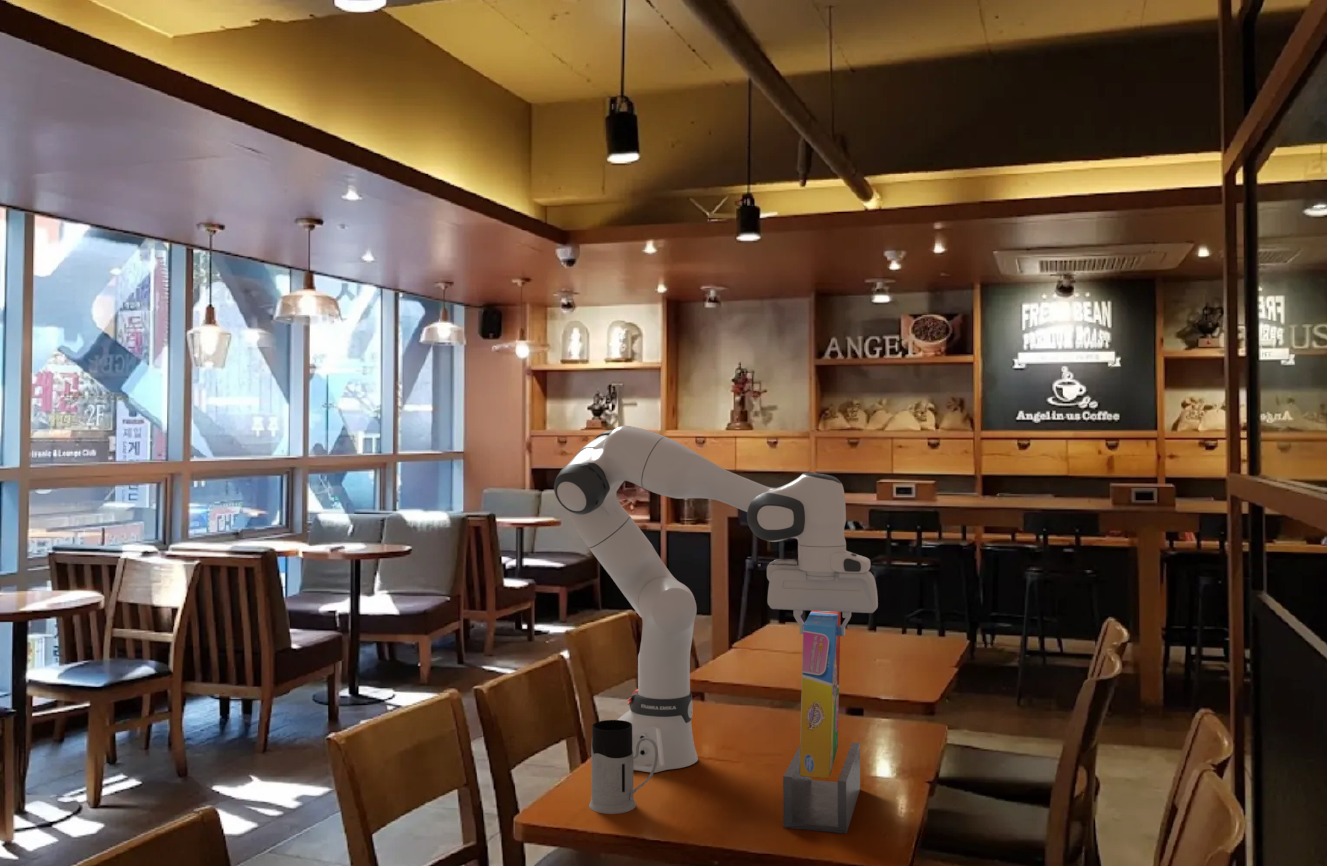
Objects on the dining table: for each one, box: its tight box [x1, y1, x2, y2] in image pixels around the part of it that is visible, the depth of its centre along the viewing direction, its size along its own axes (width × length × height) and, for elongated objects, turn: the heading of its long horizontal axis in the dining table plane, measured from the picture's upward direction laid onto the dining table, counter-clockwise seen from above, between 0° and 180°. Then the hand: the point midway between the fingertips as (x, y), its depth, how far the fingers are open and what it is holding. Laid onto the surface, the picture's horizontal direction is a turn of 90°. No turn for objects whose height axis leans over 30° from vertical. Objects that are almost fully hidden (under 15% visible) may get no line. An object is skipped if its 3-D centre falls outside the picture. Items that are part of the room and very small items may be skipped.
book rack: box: [782, 742, 861, 834], centre depth 195 cm, size 11×24×9 cm, turn 164°
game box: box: [799, 610, 842, 779], centre depth 195 cm, size 21×6×27 cm, turn 167°
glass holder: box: [588, 719, 658, 815], centre depth 195 cm, size 9×14×15 cm, turn 59°
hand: (822, 634), depth 195 cm, fingers closed on game box, 5 cm apart
